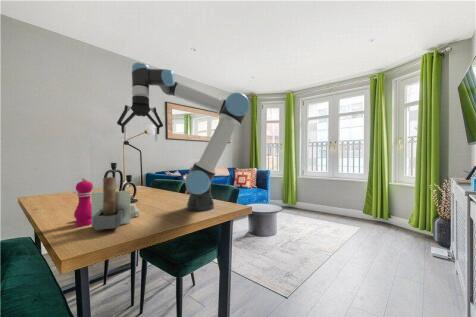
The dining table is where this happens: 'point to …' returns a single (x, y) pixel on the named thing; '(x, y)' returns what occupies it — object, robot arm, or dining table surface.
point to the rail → (109, 196)
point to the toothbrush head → (132, 211)
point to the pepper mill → (84, 203)
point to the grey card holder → (110, 220)
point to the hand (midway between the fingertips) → (141, 140)
